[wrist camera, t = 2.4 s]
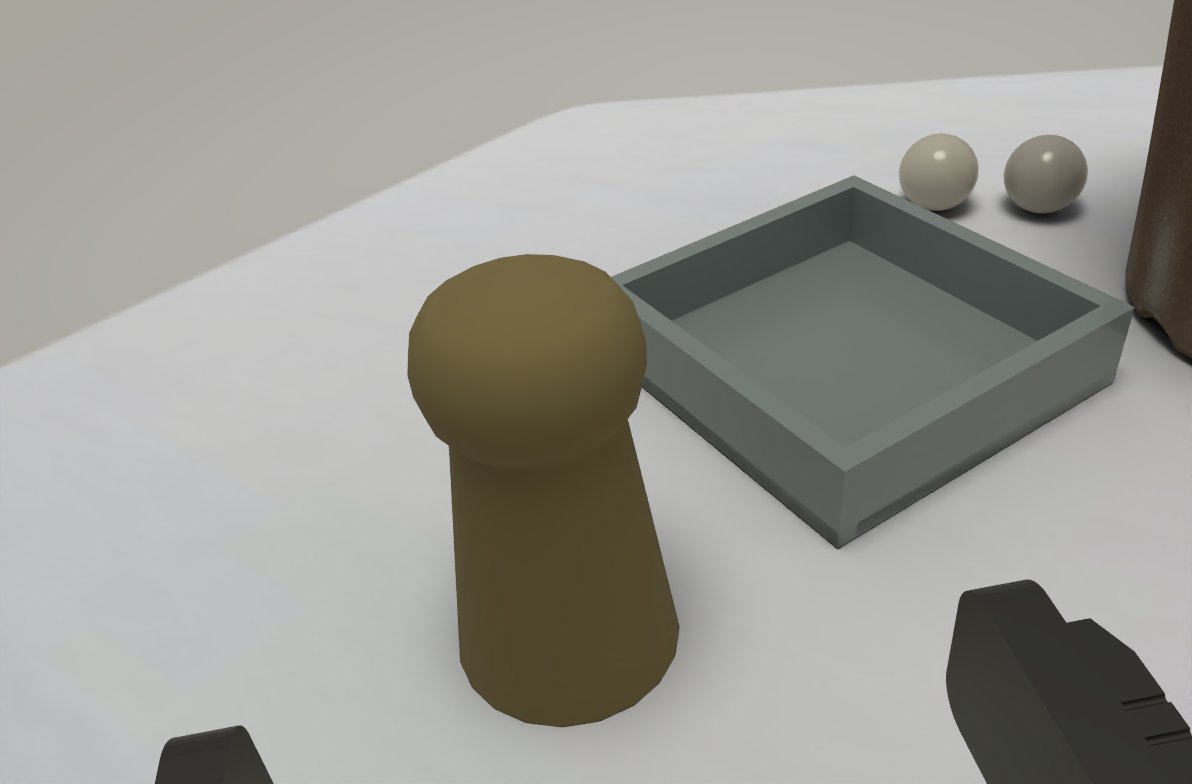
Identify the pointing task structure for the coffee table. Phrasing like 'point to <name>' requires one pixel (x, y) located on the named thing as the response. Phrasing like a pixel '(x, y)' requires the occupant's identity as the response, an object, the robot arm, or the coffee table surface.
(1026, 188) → the pebble
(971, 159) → the pebble
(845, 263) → the slate dish
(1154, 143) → the plant pot
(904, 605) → the coffee table surface
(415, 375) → the cork
